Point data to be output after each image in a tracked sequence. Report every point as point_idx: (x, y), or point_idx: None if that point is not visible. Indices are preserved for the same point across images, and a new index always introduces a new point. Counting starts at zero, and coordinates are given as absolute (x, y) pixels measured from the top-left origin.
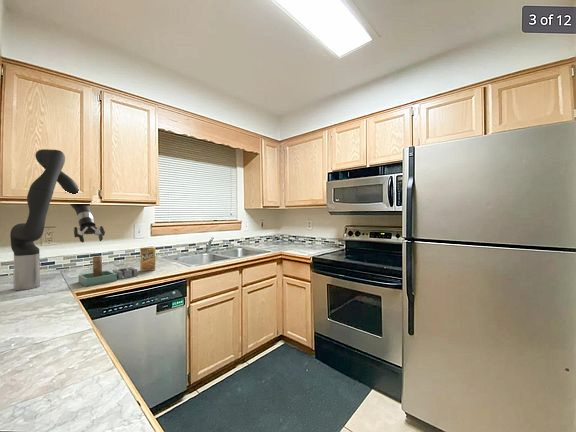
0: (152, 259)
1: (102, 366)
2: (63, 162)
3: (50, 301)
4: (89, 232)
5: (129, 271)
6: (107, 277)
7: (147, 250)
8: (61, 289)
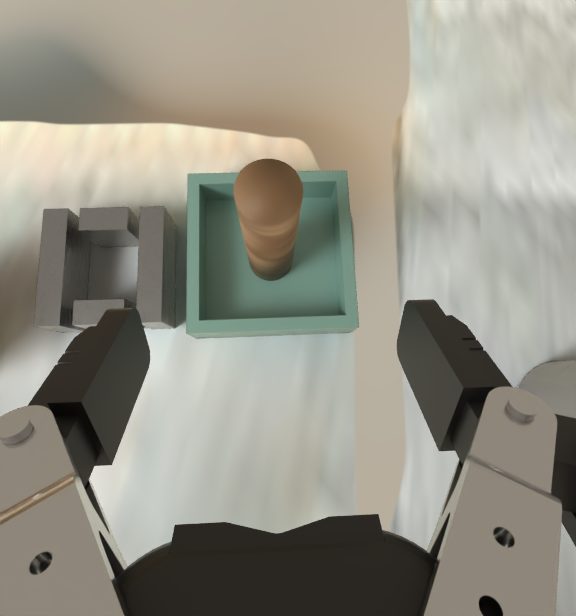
0: None
1: None
2: None
3: (475, 66)
4: (295, 541)
5: (99, 211)
6: None
7: None
8: (432, 229)
